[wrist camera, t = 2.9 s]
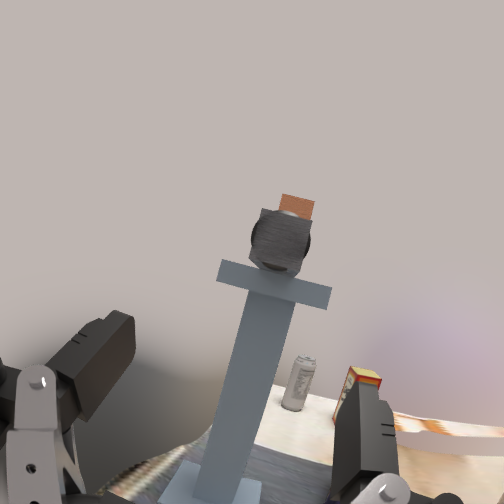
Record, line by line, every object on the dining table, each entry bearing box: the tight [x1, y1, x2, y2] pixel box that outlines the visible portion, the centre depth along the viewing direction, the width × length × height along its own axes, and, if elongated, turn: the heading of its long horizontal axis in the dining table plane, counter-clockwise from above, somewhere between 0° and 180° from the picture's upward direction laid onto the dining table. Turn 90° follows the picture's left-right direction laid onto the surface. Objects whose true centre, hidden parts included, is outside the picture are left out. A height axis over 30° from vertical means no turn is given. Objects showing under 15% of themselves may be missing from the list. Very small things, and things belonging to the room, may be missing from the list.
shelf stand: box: [157, 259, 332, 504], centre depth 35 cm, size 16×12×32 cm
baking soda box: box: [332, 366, 382, 424], centre depth 73 cm, size 10×6×16 cm
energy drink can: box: [282, 355, 316, 411], centre depth 81 cm, size 6×6×15 cm
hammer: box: [249, 194, 314, 278], centre depth 30 cm, size 23×4×10 cm, turn 174°
